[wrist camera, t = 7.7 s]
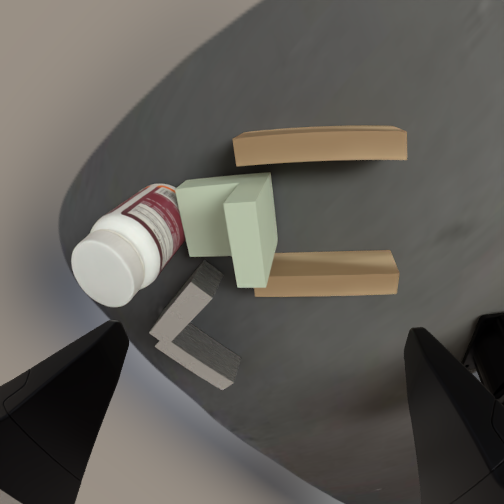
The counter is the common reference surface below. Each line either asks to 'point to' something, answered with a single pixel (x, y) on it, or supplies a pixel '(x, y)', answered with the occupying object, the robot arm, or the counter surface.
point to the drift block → (232, 222)
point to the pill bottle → (129, 246)
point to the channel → (326, 263)
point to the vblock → (195, 331)
